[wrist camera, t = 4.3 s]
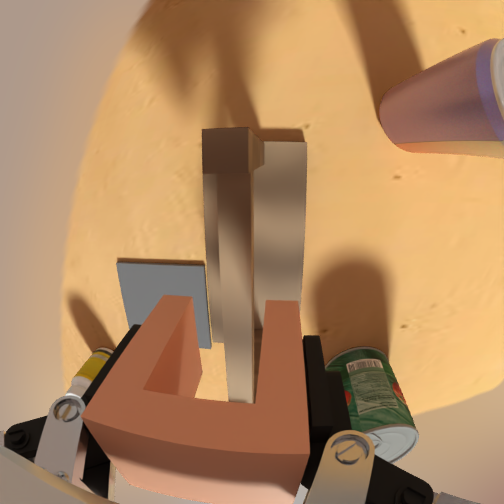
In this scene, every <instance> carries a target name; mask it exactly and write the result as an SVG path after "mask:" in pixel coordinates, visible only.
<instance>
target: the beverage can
mask: <svg viewBox="0 0 504 504" xmlns="http://www.w3.org/2000/svg"><path fill="white" fill-rule="evenodd" d="M379 114H380V121H381V124H382V127H383V129H384V131H385V133H386V135H387V136H388V138H389V139H390V140H391V141H392V142H393V143H394V144H395V145H396V146H397V147H399V148H401V149H402V150H405V151H408V152H412V153H438V154H457V155H471V156H482V157H492V158H501V159H504V38H503V39H489V40H487V41H484V42H482V43H480V44H477V45H475V46H473V47H471V48H469V49H466V50H464V51H462V52H460V53H458V54H456V55H454V56H452V57H450V58H448V59H446V60H443V61H441V62H439V63H437V64H435V65H433V66H432V67H430V68H428V69H426V70H424V71H422V72H420V73H418V74H416V75H414V76H412V77H410V78H409V79H407V80H405V81H403V82H401V83H399V84H398V85H396V86H394V87H392V88H391V89H389V90H388V91H387V92H386V93H385V94H384V96H383V98H382V100H381V103H380V109H379Z"/></svg>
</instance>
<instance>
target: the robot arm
mask: <svg viewBox="0 0 504 504" xmlns="http://www.w3.org/2000/svg"><path fill="white" fill-rule="evenodd" d="M141 326H142V325H139V324H134V325H133V326H132V327H131V328H130V330H129V331H128V333H127V334H126V335H125V337H124V338H123V339H122V341H121V342H120V343H119V345H118V346H117V348H116V349H115V350H114V352H113V353H112V354H111V356H110V357H109V359H108V360H107V361H106V363H105V364H104V366H103V367H102V368H101V370H100V371H99V373H98V374H97V376H96V377H95V378H94V380H93V381H92V383H91V384H90V386H89V387H88V389H87V390H86V391H85V393H84V394H83V396H82V397H81V398H79V397H77V396H72V395H69V396H63V397H61V398H59V399H57V400H56V401H55V402H54V403H53V404H52V406H51V408H50V410H49V414H48V415H47V416H44V417H40V418H37V419H33V420H30V421H26V422H23V423H19V424H16V425H13V426H11V427H10V428H9V429H8V430H7V431H6V433H5V432H4V431H0V504H119V503H116V502H114V500H115V476H116V467H115V466H114V464H113V463H112V462H111V461H110V459H109V458H108V457H107V455H106V454H105V453H104V451H103V450H102V448H101V447H100V446H99V444H98V443H97V441H96V440H95V438H94V437H93V435H92V434H91V432H90V431H89V429H88V428H87V426H86V425H85V423H84V421H83V420H82V418H81V417H80V416H81V415H82V413H83V412H84V410H85V409H86V407H87V405H88V404H89V402H90V401H91V399H92V398H93V396H94V395H95V393H96V391H97V390H98V388H99V387H100V385H101V384H102V382H103V381H104V379H105V378H106V376H107V375H108V373H109V372H110V370H111V369H112V367H113V366H114V364H115V363H116V361H117V360H118V359H119V357H120V356H121V354H122V353H123V351H124V350H125V348H126V347H127V345H128V344H129V343H130V341H131V340H132V338H133V337H134V335H135V334H136V333H137V331H138V330H139V328H140V327H141ZM302 344H303V355H304V367H305V380H306V393H307V408H308V424H309V443H310V455H309V458H308V462H307V465H306V468H305V471H304V474H303V477H302V480H301V484H302V485H303V486H304V487H306V488H307V489H308V492H307V494H306V497H305V499H304V502H303V504H480V503H476V502H472V501H469V500H466V499H462V498H459V497H456V496H453V495H450V494H446V493H444V492H441V493H440V494H438V493H435V492H433V490H432V488H431V487H430V485H429V484H428V483H426V482H425V481H424V480H422V479H420V478H418V477H416V476H414V475H412V474H410V473H408V472H406V471H404V470H402V469H400V468H398V467H397V466H395V465H393V464H391V463H389V462H387V461H386V460H384V459H382V458H380V457H379V456H377V455H375V446H374V444H373V442H372V440H371V439H370V438H369V437H368V436H367V435H365V434H364V433H362V432H359V431H355V430H352V427H351V421H350V416H349V411H348V406H347V401H346V396H345V391H344V386H343V381H342V376H341V373H340V371H325V365H324V359H323V353H322V347H321V341H320V336H311V335H304V337H303V339H302Z"/></svg>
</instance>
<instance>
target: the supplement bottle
mask: <svg viewBox="0 0 504 504" xmlns="http://www.w3.org/2000/svg"><path fill="white" fill-rule="evenodd" d="M113 352H114V351H112V350H111V349H108V348H103V347H102V348H98V349H96V350H95V351H94V353H93V354H92V355H91V356H90V358H89V359H88V360H87V361H86V363H85V364H84V365H83V366H82V368H81V369H80V370H79V371H78V373H77V374H76V375H75V376H74V378H73V379H72V386H71V387H70V388H69V390H68V391H67V393H66V394H65V396H69V395H72V396H77V397H79V398H81V397H82V396H83V394H84V393H85V391H86V390H87V389H88V387H89V386H90V384H91V383H92V381H93V380H94V378H95V377H96V376H97V374H98V373H99V371H100V370H101V368H102V367H103V366H104V364H105V363H106V361H107V360H108V359H109V357H110V356H111V354H112V353H113Z"/></svg>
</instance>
